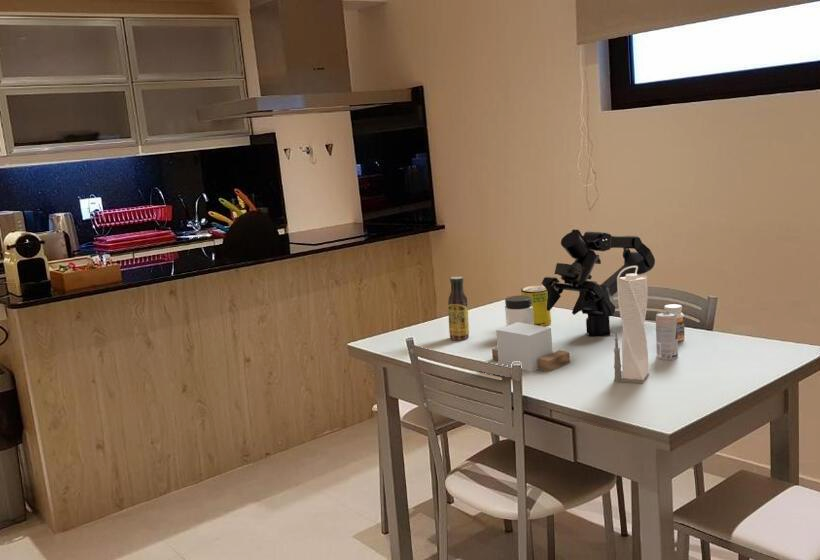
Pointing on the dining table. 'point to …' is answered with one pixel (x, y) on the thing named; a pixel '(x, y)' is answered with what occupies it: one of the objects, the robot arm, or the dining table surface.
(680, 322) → the pill bottle
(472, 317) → the dining table surface
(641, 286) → the skyscraper
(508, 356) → the block
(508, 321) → the jar
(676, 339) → the energy drink
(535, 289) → the yellow can
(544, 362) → the pair of brown bars
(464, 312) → the sauce bottle
